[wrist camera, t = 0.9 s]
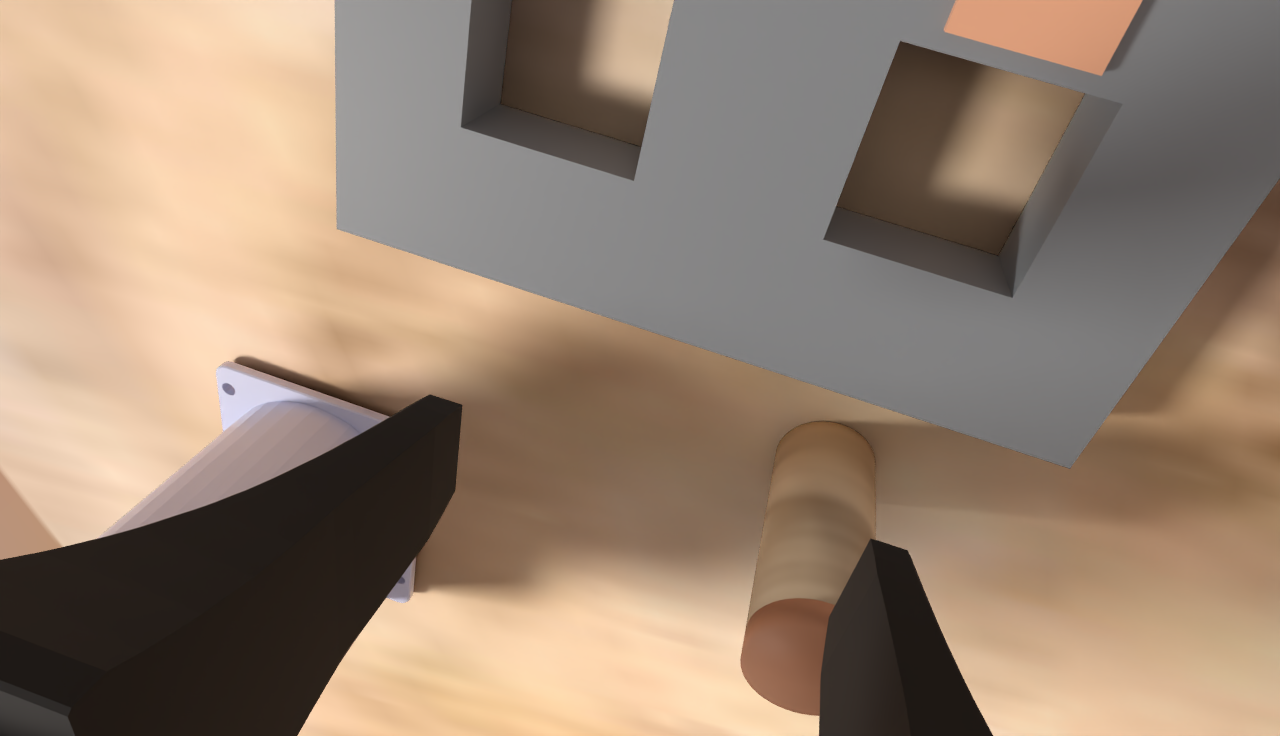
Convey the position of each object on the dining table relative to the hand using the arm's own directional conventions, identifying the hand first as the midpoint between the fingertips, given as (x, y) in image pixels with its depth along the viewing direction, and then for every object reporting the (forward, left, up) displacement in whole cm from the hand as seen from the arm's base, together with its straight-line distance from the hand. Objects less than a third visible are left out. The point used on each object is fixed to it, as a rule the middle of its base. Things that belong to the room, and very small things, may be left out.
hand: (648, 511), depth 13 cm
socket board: (+5, +1, -10) cm, 11 cm away
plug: (-5, -4, -10) cm, 12 cm away
